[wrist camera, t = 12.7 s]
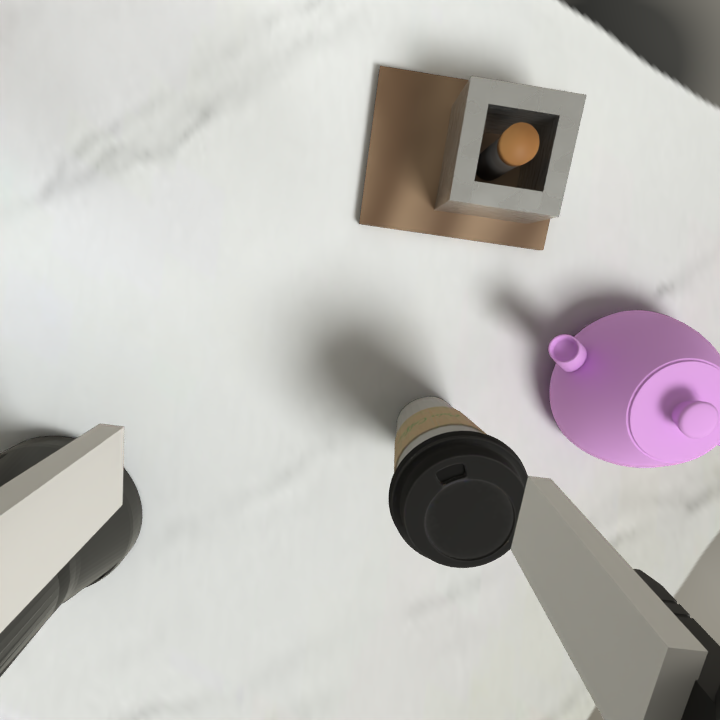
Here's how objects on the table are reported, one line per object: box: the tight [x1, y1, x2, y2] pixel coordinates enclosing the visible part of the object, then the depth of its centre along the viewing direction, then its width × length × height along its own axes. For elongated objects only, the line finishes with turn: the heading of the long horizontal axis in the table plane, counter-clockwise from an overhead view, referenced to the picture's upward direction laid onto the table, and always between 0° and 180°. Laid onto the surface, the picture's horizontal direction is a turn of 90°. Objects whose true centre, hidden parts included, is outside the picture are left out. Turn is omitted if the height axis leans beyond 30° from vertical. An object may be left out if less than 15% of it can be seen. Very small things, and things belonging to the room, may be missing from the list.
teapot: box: [548, 310, 720, 468], centre depth 36 cm, size 14×20×11 cm
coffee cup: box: [389, 397, 528, 568], centre depth 35 cm, size 9×9×15 cm
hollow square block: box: [434, 76, 586, 224], centre depth 34 cm, size 8×8×6 cm
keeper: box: [359, 66, 550, 250], centre depth 33 cm, size 16×12×8 cm
